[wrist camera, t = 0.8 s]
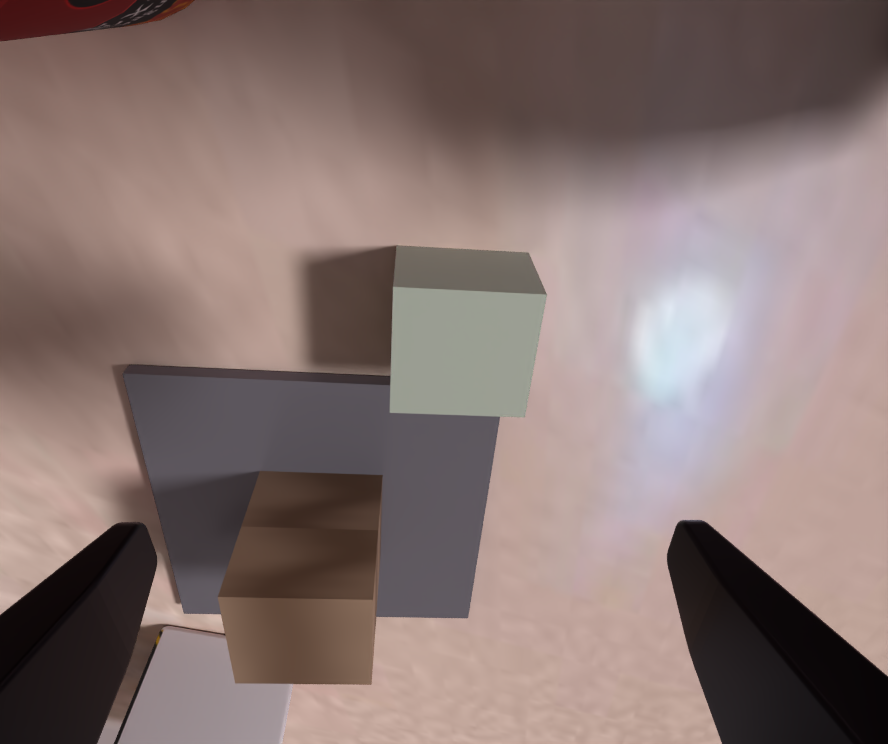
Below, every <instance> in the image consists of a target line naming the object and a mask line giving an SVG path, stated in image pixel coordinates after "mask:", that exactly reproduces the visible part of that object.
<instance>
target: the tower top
mask: <svg viewBox="0 0 888 744" xmlns="http://www.w3.org/2000/svg"><path fill="white" fill-rule="evenodd" d="M377 567H378V530H349V529H312V528H274V527H241V529H240V532H239V535H238V538H237V541H236V544H235V547H234V550H233V553H232V556H231V559H230V562H229V565H228V568H227V571H226V574H225V577H224V580H223V583H222V586H221V589H220V592H219V595H218V601H219V606H220V611H221V616H222V621H223V626H224V631H225V636H226V641H227V646H228V651H229V656H230V661H231V665H232V670H233V675H234V680H235V683H244V684H363V685H371V683H372V669H373V655H374V640H375V626H376V608H377Z"/></svg>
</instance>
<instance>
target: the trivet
mask: <svg viewBox="0 0 888 744" xmlns="http://www.w3.org/2000/svg"><path fill="white" fill-rule="evenodd" d="M122 374H123V378H124V382H125V386H126V389H127V393H128V397H129V401H130V405H131V409H132V413H133V417H134V421H135V425H136V428H137V432H138V436H139V440H140V444H141V448H142V452H143V456H144V460H145V464H146V467H147V471H148V475H149V479H150V483H151V487H152V491H153V495H154V499H155V503H156V506H157V510H158V514H159V518H160V522H161V526H162V530H163V534H164V538H165V542H166V545H167V549H168V553H169V557H170V561H171V565H172V569H173V573H174V577H175V581H176V584H177V588H178V592H179V596H180V600H181V604H182V608H183V612H184V614H221V611H220V606H219V601H218V595H219V592H220V589H221V586H222V583H223V580H224V577H225V574H226V571H227V568H228V565H229V562H230V559H231V556H232V553H233V550H234V547H235V544H236V541H237V538H238V535H239V532H240V529H241V526H242V523H243V520H244V517H245V514H246V511H247V508H248V505H249V502H250V499H251V496H252V493H253V490H254V487H255V484H256V481H257V478H258V475H259V472H260V471H277V472H307V473H337V474H367V475H383V481H382V516H381V552H380V569H379V583H378V598H377V612H376V617H424V618H468V614H469V608H470V602H471V596H472V589H473V583H474V577H475V570H476V564H477V558H478V552H479V545H480V539H481V533H482V526H483V520H484V514H485V508H486V501H487V495H488V489H489V482H490V476H491V470H492V464H493V457H494V451H495V445H496V438H497V432H498V426H499V420H500V417H497V416H468V415H439V414H410V413H390V381H391V377H389V376H367V375H345V374H323V373H300V372H278V371H256V370H234V369H212V368H190V367H168V366H146V365H129V366H128V367H127V368H126V370H125V371H124V372H123V373H122Z"/></svg>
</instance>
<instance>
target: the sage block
mask: <svg viewBox="0 0 888 744" xmlns="http://www.w3.org/2000/svg"><path fill="white" fill-rule="evenodd" d="M546 296H547V294H546V292H545V289H544V287H543V285H542V282H541V280H540V278H539V275H538V273H537V271H536V269H535V266H534V264H533V262H532V259H531V257H530V255H529V253H524V252H506V251H488V250H470V249H452V248H434V247H416V246H399V245H397V246H396V258H395V270H394V282H393V308H392V344H391V381H390V413H410V414H439V415H468V416H497V417H525V413H526V408H527V402H528V396H529V391H530V385H531V380H532V374H533V369H534V363H535V357H536V352H537V346H538V341H539V335H540V330H541V324H542V319H543V313H544V307H545V302H546Z"/></svg>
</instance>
